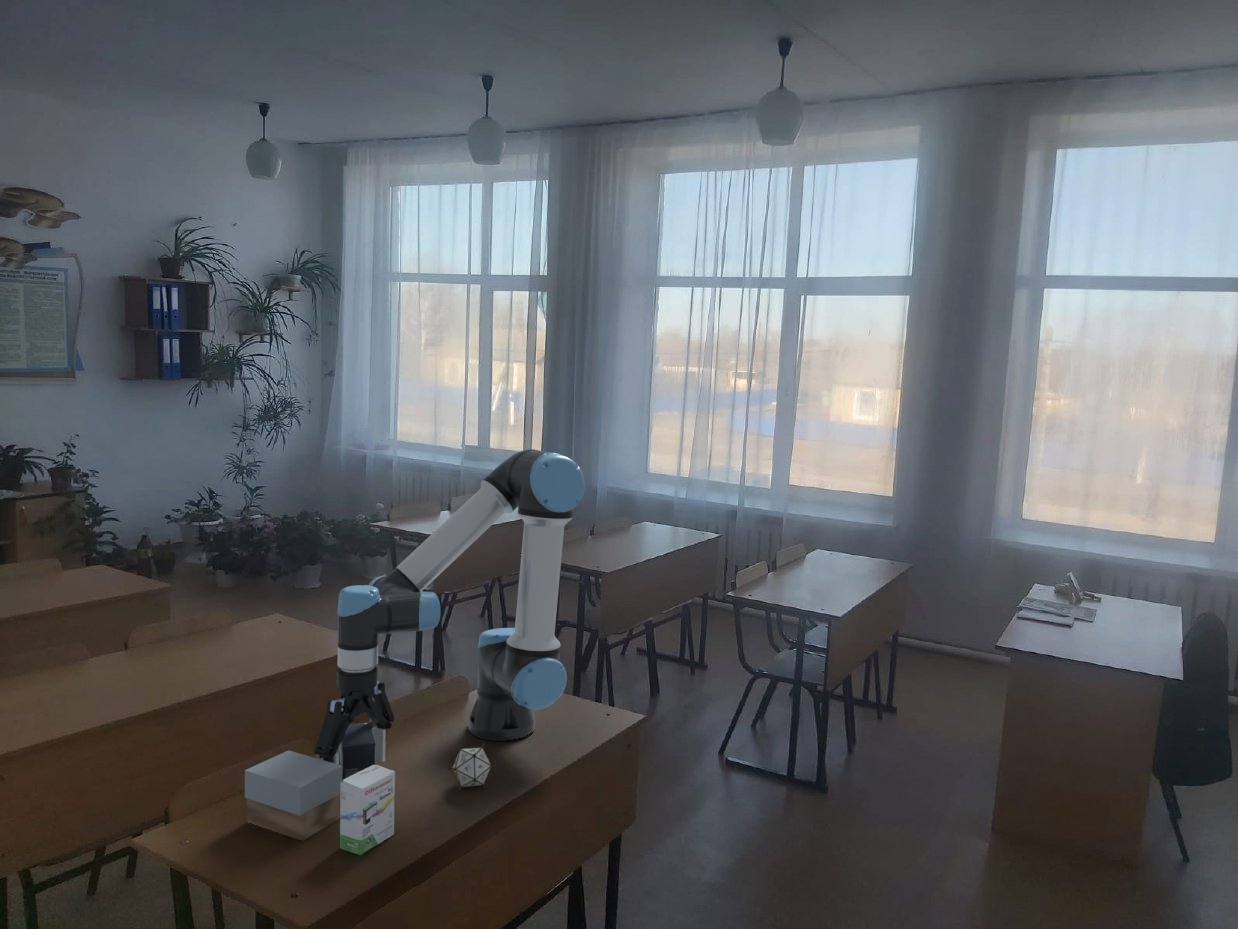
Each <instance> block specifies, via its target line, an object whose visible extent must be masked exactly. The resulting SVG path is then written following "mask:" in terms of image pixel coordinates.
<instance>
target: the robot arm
mask: <svg viewBox="0 0 1238 929" xmlns="http://www.w3.org/2000/svg"><path fill="white" fill-rule="evenodd" d="M585 483H586V482H585V477H584V474H583V471H582V469H581V468H580V466H579V465H578V464H577V463H576V462H575V461H574V460H573V459H571V458H570V457H568V456H565V455H563V454H561V453H555V452H549V451H541V450H539V449H534V448H533V449H531V448H530V449H523V450H520V451H517V452H516V453H513V454H512V455H511V456H509V457H508V458H507V459H505V460H504V461H502V462H501V463H500V464H499V465H498V466H496V467H495V468H494V470H492V471H490V472H489V474H488V475H487V476H485V477H484V478H483V479H482V480H481V481H480V489H478V491H476V492H475V493H474V494H473V495H472V496H471V497H470V498H469V499H468V500H466V501H465V503H463V504H462V505H461V506H460V507H459V508H458V509H457V510H456V511H455V512H454V513H452V514H451V516H450V517H449V518H447V519H446V521H444V522H443V523H442V524H441V525H440V526H439V527H438V528H437V529H436V530H435V531H434V532H432V534H430V535H429V536H428V537H427V538H426V539H425V540H423V542H422V543H420V545H418V546H417V547H416V549H414V550H413V551H412V552H411V553H410V554H409V555H408V556H407V557H406V558H404V559H403V560H402V561H401V562H400V564H398V565H397V566H396V567H395V568H394V569H393V570H391V571H390V572H389V573H388V574H387V575H381V576H378V577H375V578H373V579H372V581H370V582H369V584H368V585H367V584H364V585H360V584H358V585H350V586H346V587H344V588H342V589H341V590H340V591H339V594H338V601H337V602H338V603H337V611H336V614H337V667H338V668H337V670H336V687H337V688H338V689H339V692H340V694H339V695H340V696H339V698H338V699H336V700H334V699H329V700H328V701H327V706H326V713H325V717H324V720H323V723H322V726H321V729H320V733H319V736H318V739H317V741H316V745H315V747H314V748H315V749H314V754H315V755H318V756H319V755H320V756H321V757H322V760H324V761H328V762H331V763H334V764H338V765H339V754H338V747H339V745H340V743H341V741H342V739H343V737H344V735H345V732H346V730H347V728H348V726H349V724H352V723H353V722H354V721H355V718H356V717H358V716H360V715H361V714H365V713H366V715H367V717H368V718H369V719H370V720H371V722H373V724H374V725H375V726H374V727H373V728H372V727H371V729H372V732H373V736H374V739H375V762H379V763H385V762H386V744H387V739H388V738H387V735H388V731H387V730H391V729H392V727H393V723H394V721H395V716H394V712H393V710H392V707H391V705H390V702H389V699H388V696H387V693H386V684H385V682H382V681H378V676H379V675H378V670H379V669H378V667H377V665H378V664H379V636H381V635H389V634H391V635H392V634H401V633H409V632H422V631H425V630H431V629H435V628H436V627H437V626H438V625H439V622H440V619H441V604H440V599H439V597H438V595H437V594H436V593H435V592H434V591H424V590H425V589H426V588H427V587H428V586H429V585H430V584H431V583H432V582H433V581H435V579H437V577H439V576H440V575H441V574H442V573H443V572H444V571H445V570H446V569H447V568H448V567H450V565H451V564H453V563H454V562H455V561H456V560H457V558H459V557H460V556H461V555H462V554H463V553H464V552H465V551H466V550H467V549H469V548H470V546H472V544H473V543H474V542H476V541H477V540H478V539H479V538H480V537H481V536H482V535H483V534H484V533H485V532H486V531H487V530H489V528H490V527H492V525H494V523H495V522H497V521H499V519H500V518H501V517H502V516H503V515H504V514H512V513H513V512H514V511H515V510H516V509H518V510H517V515H518V516H519V518H520V519H521V520H522V521H523V529H522V530H523V532H522V543H521V553H520V554H521V556H520V567H519V576H518V577H519V578H518V589H517V602H516V611H515V623H514V624H515V625H514V627H502V628H501V627H499V628H493V629H488V630H485V631H483V632H481V633H480V635H479V638H478V645H477V689H476V691H477V695H476V698H475V701H474V704H473V707H472V709H471V711H470V715H469V718H468V732H469V733H470V734H471V735H472V736H474V737H477V738H479V739H482V740H486V741H494V742H506V741H507V740H510V741H514V740H513V739H516V740H520V739H519V738H521V739H523V738H522V737H524V736H526V737H528V736H530V735H531V734H530V733H531V732H533V731H534V732H535V730H536V717H535V713H534V710H535V711H537V710H543V709H546V708H548V707H550V706H552V705H553V704H555V702H556V701H557V700H558V699H559V698H560V697H561V696H562V695H563V692H564V691H565V689H566V685H567V681H568V675H567V671H566V668H565V667H564V666H565V665H564V664H563V663H562V662H561V661H560V659H561V658H560V655H561V642H560V641H559V640H558V638H557V637H556V635H555V633H556V632H555V631H556V622H557V611H558V610H557V609H558V599H559V588H560V577H561V569H562V568H561V566H562V557H563V556H562V555H563V546H564V545H563V544H564V535H565V526H566V525H567V524H569V522H570V521H572V519H573V514H574V513H573V512H574V509H575V508H576V506H577V505H578V504H579V503H580V502H581V501H582V499H583V496H584V493H585V488H586V487H585V486H586V485H585ZM534 729H535V730H534ZM534 732H533V733H534ZM529 734H530V735H529ZM527 735H528V736H527ZM524 738H525V737H524ZM507 742H508V741H507Z"/></svg>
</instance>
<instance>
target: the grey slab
mask: <svg viewBox="0 0 1238 929" xmlns="http://www.w3.org/2000/svg"><path fill="white" fill-rule="evenodd" d="M341 782H342V766H341V765H338V764H334V763H331V762H328V761H324V760H323V759H320V758H317V757H314V756H310V755H306V754H303V753H299V752H295V751H292V750H289V749H288V750H286V751H284V752H282V753H280V754H278V755H274V756H273V757H270V758H269V759H267V760H264V761H262V762H260V763H257V764H256V765H254V766H251V767H249V768H247V769H245V770H244V799H246V800H247V799H250V800H253V801H256V802H259V803H262V804H265V805H269V806H272V807H275V808H278V809H281V810H284V811H287V812H290V813H293V814H296V815H299V816H301V815H303V814H304V813H306V812H308V811H310V810H311V809H313V808H315V807H317V806H319V805H320V804H322V803H324V802H326V801H328V800H329V799H331V798H333V797H335V796H337V795H339V794H340V783H341Z"/></svg>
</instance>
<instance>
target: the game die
mask: <svg viewBox="0 0 1238 929" xmlns="http://www.w3.org/2000/svg"><path fill="white" fill-rule="evenodd" d="M484 748H485V743H482V744H481V746H479V747H470V748H469V747H467V748H461V746H459V745H457V749H458V752H457V755H456V757H455V759H454V762H453V764H452V766H449V767H448V770H452V772H453V774H454V776H455V778H456V780H457V782H458V784H459V788H458V792H460V791H461V790H462V788H467V787H476V786H482V787H483V788H484V789H486V788H487V785H486V784H485V782H486V781H487V778H488V776H489V773H490V770H491V769H492V768H495V767H496V765H495V764H492V763H491V761H490V759H489V757H488V756H487V753H486V751H485V749H484Z"/></svg>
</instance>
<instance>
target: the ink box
mask: <svg viewBox="0 0 1238 929" xmlns="http://www.w3.org/2000/svg"><path fill="white" fill-rule="evenodd" d="M395 788H396V771H395V770H392V769H389V768H386V767H383V766H381V765H378V764H375V765H372V766H370V767H368V768H366V769H364V770H362V771H360V772H358V773H356V774H354V775H351V776H350V777H348V778H346V779H344V780H343V782H341V783H340V819H339V848H340V850H344V851H347V852H350V853H352V854H355V855H358V856H362V855H363V854H365V853H366V852H368V851H370V850H371V849H373V848H374V847H377V846H378V845H379V844H382V843H383V842H384V841H385V840H387V839H389V838H391V837H393V835H395V797H396V796H395V794H396V793H395V791H396V789H395Z"/></svg>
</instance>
